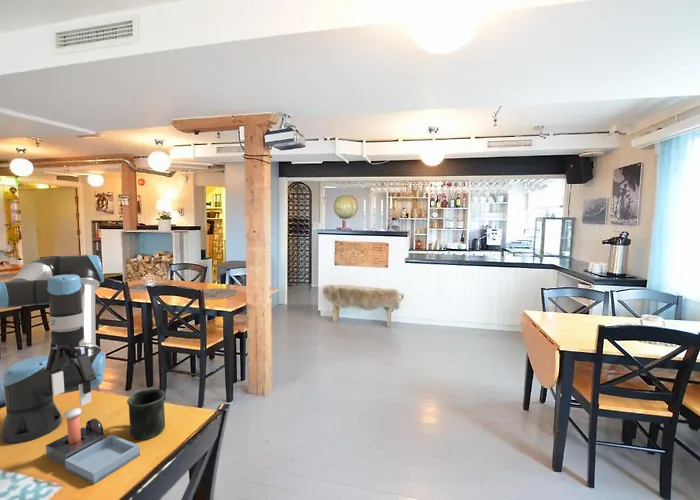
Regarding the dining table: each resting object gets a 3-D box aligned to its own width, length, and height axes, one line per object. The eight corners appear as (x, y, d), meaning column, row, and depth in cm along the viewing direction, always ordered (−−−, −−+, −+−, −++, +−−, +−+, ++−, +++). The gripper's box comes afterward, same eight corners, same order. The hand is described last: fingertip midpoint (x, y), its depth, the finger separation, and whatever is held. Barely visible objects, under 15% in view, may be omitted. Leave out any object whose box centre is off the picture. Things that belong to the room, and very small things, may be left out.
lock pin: (64, 455, 107) (61, 413, 106) (78, 447, 111) (76, 406, 110) (72, 458, 106) (69, 416, 104) (86, 450, 109) (84, 409, 108)
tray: (65, 469, 101) (64, 459, 101) (112, 443, 113) (111, 434, 112) (94, 484, 96) (93, 473, 95) (140, 455, 107) (139, 445, 107)
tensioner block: (46, 458, 106) (44, 434, 105) (88, 436, 116) (87, 414, 116) (66, 468, 102) (64, 443, 101) (108, 444, 112) (107, 421, 111)
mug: (136, 446, 111) (135, 409, 110) (119, 428, 121) (117, 394, 120) (172, 430, 120) (171, 396, 119) (153, 415, 129) (152, 382, 128)
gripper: (28, 326, 106) (33, 395, 108) (78, 338, 96) (83, 414, 98) (57, 319, 113) (61, 385, 115) (107, 330, 103) (111, 401, 105)
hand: (71, 398), depth 106 cm, fingers open, 13 cm apart
